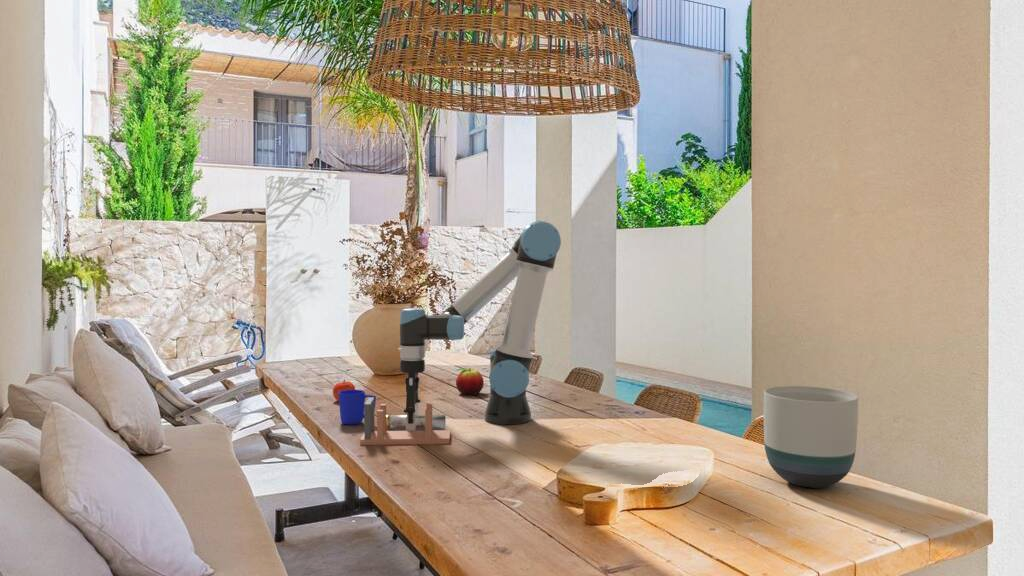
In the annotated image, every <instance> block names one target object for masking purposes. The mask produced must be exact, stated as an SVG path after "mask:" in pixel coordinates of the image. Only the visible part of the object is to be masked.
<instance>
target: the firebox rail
mask: <svg viewBox="0 0 1024 576" xmlns="http://www.w3.org/2000/svg"><path fill="white" fill-rule="evenodd" d="M366 399H367V400H365V404H364V418H363V420H364V426H363V427H364V429H363V431H364V432H363V434H362V436H361V438H360V439H359V444H360V446H370V445H371V446H373V445H374V446H375V445H376V446H377V445H381V446H382V445H389V446H390V445H442V444H443V445H444V444H445V445H448V444H450V442H451V441H450V440H451V430H450V429H445V430H432V415H433V403H426V409H425V410H424V412H425V413H424V415H425V430H423V431H386V415H387V403H381V404H380V406H379V409H377V410H376V430H375V411H374V397H367V398H366Z"/></svg>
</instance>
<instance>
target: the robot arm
mask: <svg viewBox="0 0 1024 576" xmlns="http://www.w3.org/2000/svg"><path fill="white" fill-rule="evenodd" d="M561 239H562V238H561V235H560V232H559V230H558V229H557V228H556V227H555V225H554V224H552V223H550V222H547V221H542V220H536V221H533V222H530V223H529V224H528V225H526V227H524V229H523V231H522V233H521V234H520V236H519V237H518V238H517V239H516V241H514V242H513V244H512V245H510V246H509V249H508V252H507V253H506V254H505V255H504V256H503V257H502V258H501V259H500V260H498V262H496V263H495V264H494V265H493V266H492V267H490V269H489V270H488V271H487V272H485V273H484V274H483V275H482V276H481V277H480V278H479V279H478V280H477V281H476V282H475V283H474V284H472V285H471V286H470V287H469V288H468V289H467V290H466V291H464V293H462V294H461V296H459V297H458V298H457V299H456V300H455V301H454V302H453V303H452V304H451V305H449V307H448V308H447V309H445V310H444V311H443V312H442V313H440V314H438V315H437V314H436V315H433V314H432V315H429V314H426V310H425V309H424V308H418V307H417V308H416V307H415V308H413V307H411V308H403V309H402V310H401V311H400V320H399V341H400V343H399V344H400V345H399V347H398V348H397V351H398V352H400V354H399V357H400V360H399V371H400V372H401V373H404V374H407V377H406V378H405V392H406V395H405V396H406V397H405V398H406V401H405V403H406V404H405V409H403V413H404V414H405V415H406V431H415V415H419V404H420V403H421V399H419V387H420V385H419V383H420V377H419V374H420V373H424V372H425V371H426V370H425V369H426V367H425V366H426V360H425V358H426V340H429V341H430V340H435V341H436V340H439V341H461V340H462V339H464V336H465V325H466V324H467V322H469V321H470V320H471V319H473V317H474V316H475V315H476V314H477V313H479V312H480V311H481V310H482V309H483V308H484V307H485V306H486V305H487V304H488V303H489V302H491V301H492V300H493V299H494V298H495V297H496V296H497V295H498V294H500V292H502V291H503V290H504V289H505V288H507V286H508V285H509V284H510V283H512V282H513V281H514V280H515V279H516V282H515V286H514V291H513V295H512V298H511V299H512V300H511V304H510V307H509V312H508V317H507V321H506V326H505V329H504V334H503V337H502V343H501V344H500V345H498V346H497V347H496V348H495V349H492V350H491V351H490V356H489V360H490V362H489V363H490V364H489V365H490V367H489V371H490V372H489V385H490V386H489V391H490V393H489V399H488V402H487V405H486V408H485V411H484V420H485V421H486V422H487V423H488V422H489V423H491V424H498V425H517V424H518V425H520V424H524V423H529V422H531V421H532V411H531V408H530V405H529V402H528V398H527V388H528V385H529V383H530V371H531V367H532V362H533V353H532V352H531V350H530V349H531V345H532V340H533V335H534V332H535V327H536V324H537V323H536V322H537V320H538V319H537V318H538V313H539V311H540V306H541V301H542V297H543V292H544V288H545V285H546V284H545V283H546V279H547V275H548V273H550V272H552V271H553V270H554V268H555V267H554V266H555V264H556V263H555V262H556V258H557V254H558V252H559V250H560V248H561V243H562V240H561Z"/></svg>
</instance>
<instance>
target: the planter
mask: <svg viewBox="0 0 1024 576" xmlns="http://www.w3.org/2000/svg"><path fill="white" fill-rule="evenodd" d="M858 414H859V396H858V395H856V394H855V393H852V392H850V391H845V390H841V389H835V388H828V387H822V386H821V387H820V386H810V385H809V386H806V385H781V386H780V385H779V386H772V387H768V388H765V389H764V390H763V441H764V442H763V443H764V450H765V455H766V459H767V461H768V463H769V466H770V467H771V468H772V469H773V471H774V472H775V473H776V474H777V475H778V476H779V477H781V478H782V479H783V480H784V481H786V482H788V483H789V484H792V485H795V486H797V485H798V487H801V486H803V487H802V488H807V487H810V489H821V488H823V489H824V488H827V487H831V486H833V485H836V484H837V483H839V482H840V481H842V480H843V479H844V478H845V477H846V476H847V475H848V474H849V473H850V471H851V469H852V466H853V464H854V461H855V457H856V452H857V451H856V450H857V438H858V422H859V418H858V417H859V415H858Z"/></svg>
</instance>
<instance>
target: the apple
mask: <svg viewBox="0 0 1024 576" xmlns="http://www.w3.org/2000/svg"><path fill="white" fill-rule="evenodd" d="M344 390H356V387H355V385H354V384H353V382H351V381H345V379H343V382H339V383H336V384H335V385H334V386H333V388H332V395H333V398H334V399H335V400H336V401H338V402H339V394H338V393H339V392H340V391H344Z"/></svg>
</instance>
